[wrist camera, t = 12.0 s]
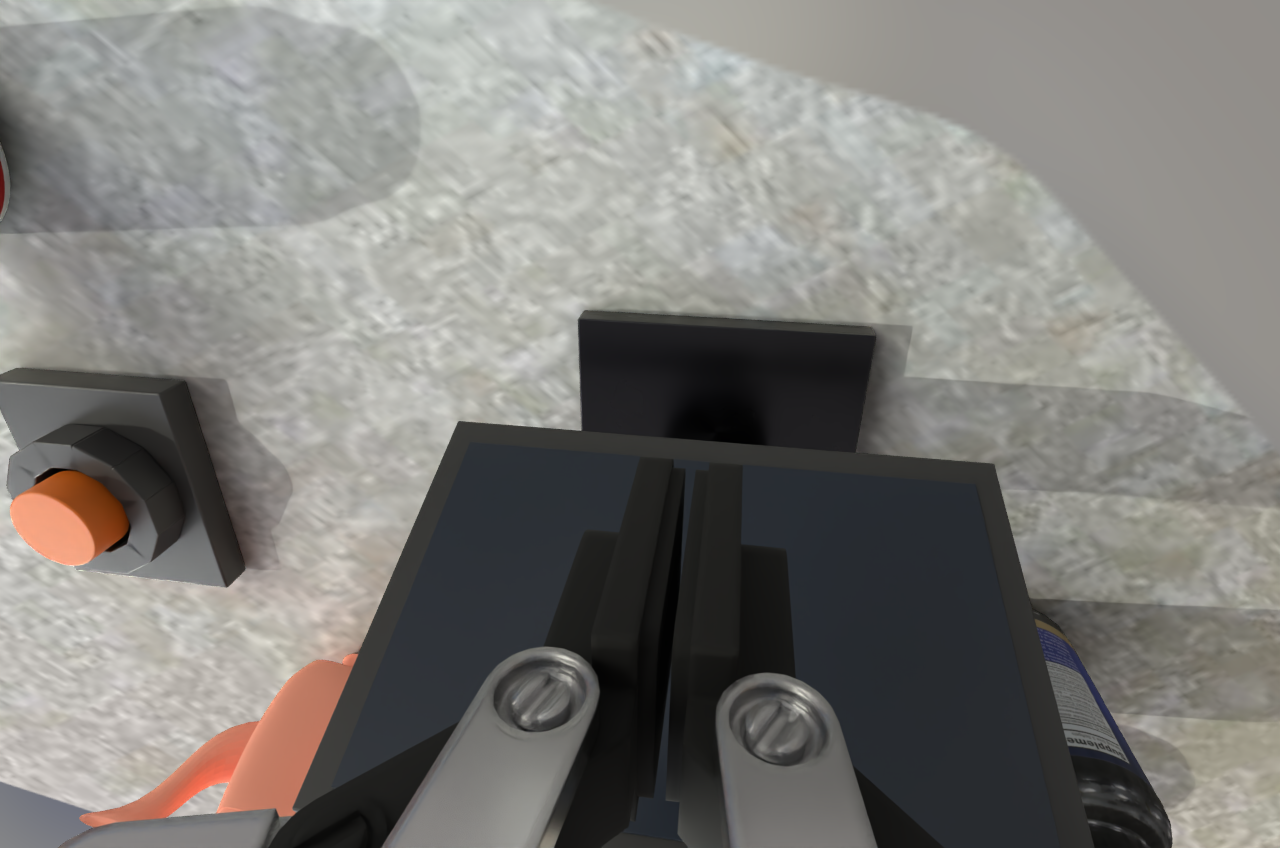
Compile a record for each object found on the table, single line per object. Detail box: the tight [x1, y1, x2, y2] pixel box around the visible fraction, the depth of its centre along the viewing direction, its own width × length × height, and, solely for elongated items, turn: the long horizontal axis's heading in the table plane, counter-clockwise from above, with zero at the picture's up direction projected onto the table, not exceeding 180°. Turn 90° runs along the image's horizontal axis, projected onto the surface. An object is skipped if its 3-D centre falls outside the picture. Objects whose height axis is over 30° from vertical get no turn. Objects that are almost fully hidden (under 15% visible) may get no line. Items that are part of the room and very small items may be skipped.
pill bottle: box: [1032, 609, 1172, 848], centre depth 24 cm, size 6×6×11 cm
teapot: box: [80, 654, 358, 827], centre depth 32 cm, size 14×12×10 cm
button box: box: [0, 368, 246, 588], centre depth 30 cm, size 10×8×3 cm
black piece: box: [578, 310, 876, 453], centre depth 22 cm, size 8×10×8 cm
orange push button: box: [10, 470, 129, 566], centre depth 28 cm, size 4×4×2 cm
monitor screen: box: [292, 421, 1095, 848], centre depth 17 cm, size 1×16×11 cm, turn 90°
